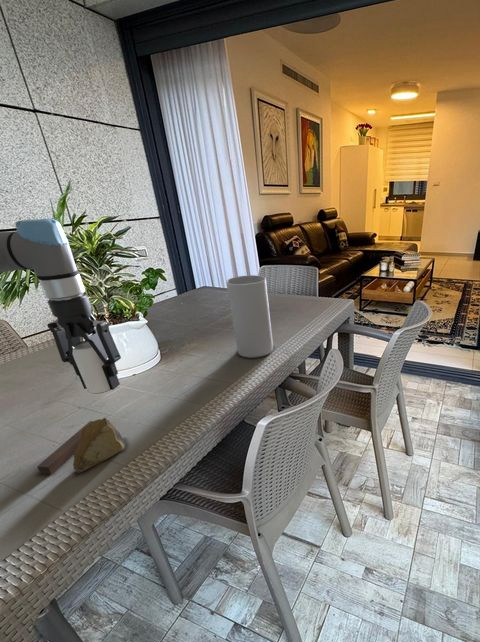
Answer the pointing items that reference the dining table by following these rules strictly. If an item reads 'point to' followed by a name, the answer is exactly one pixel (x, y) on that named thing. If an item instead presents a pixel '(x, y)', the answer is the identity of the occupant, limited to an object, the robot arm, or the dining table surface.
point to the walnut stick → (61, 454)
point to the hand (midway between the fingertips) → (102, 386)
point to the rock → (97, 444)
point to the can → (90, 368)
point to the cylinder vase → (250, 315)
